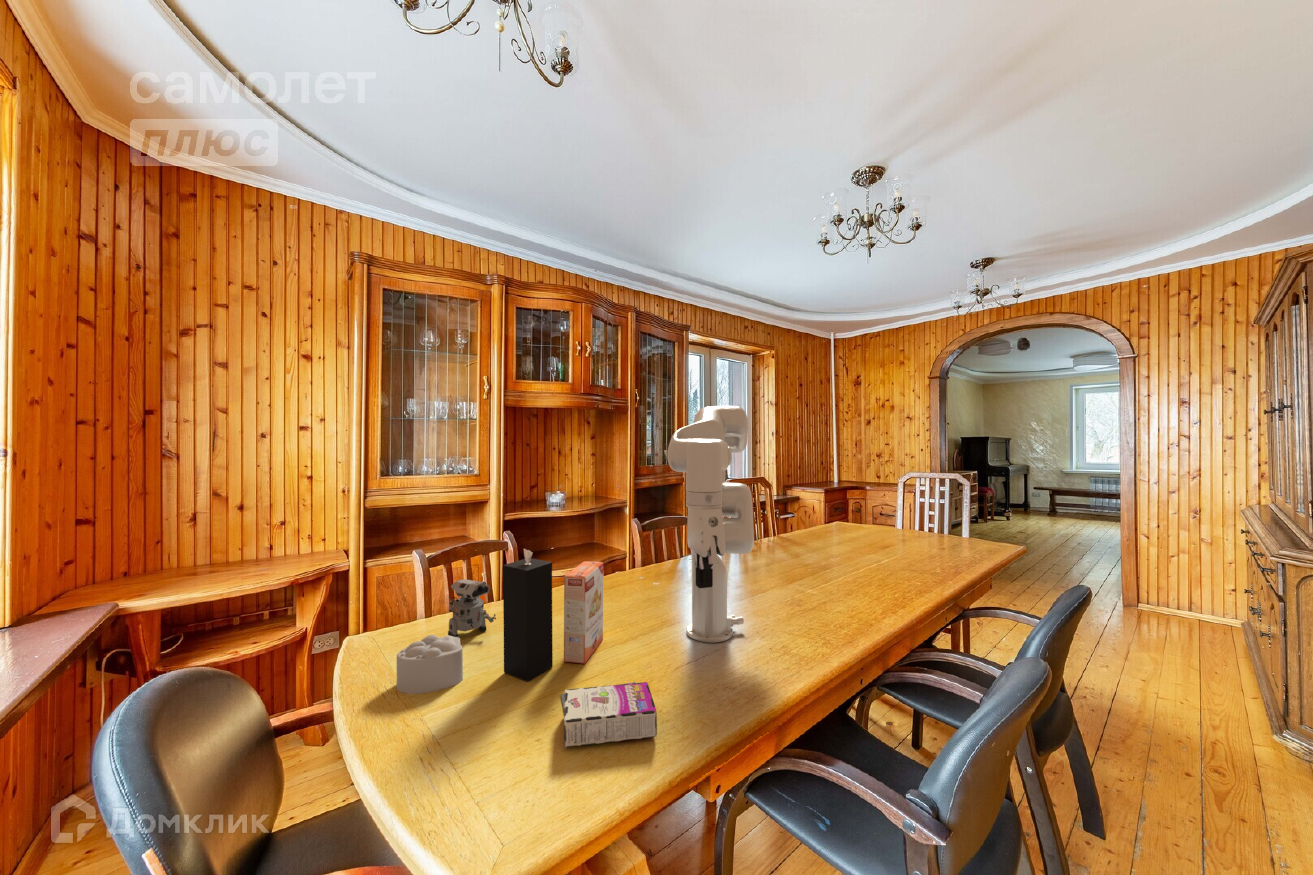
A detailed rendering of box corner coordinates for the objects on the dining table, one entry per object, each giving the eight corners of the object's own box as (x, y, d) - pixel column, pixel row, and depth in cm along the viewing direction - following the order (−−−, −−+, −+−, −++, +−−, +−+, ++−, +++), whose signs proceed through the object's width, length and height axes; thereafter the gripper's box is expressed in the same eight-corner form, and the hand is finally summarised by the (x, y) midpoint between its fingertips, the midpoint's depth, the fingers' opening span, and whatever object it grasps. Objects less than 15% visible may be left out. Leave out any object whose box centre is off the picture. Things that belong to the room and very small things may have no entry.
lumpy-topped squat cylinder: (464, 684, 105) (463, 644, 105) (396, 700, 99) (396, 658, 98) (459, 663, 114) (458, 627, 114) (396, 677, 108) (396, 639, 108)
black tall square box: (527, 682, 105) (526, 555, 105) (503, 673, 109) (502, 550, 109) (553, 667, 112) (552, 548, 111) (529, 659, 116) (528, 543, 116)
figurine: (462, 648, 122) (461, 589, 122) (445, 634, 130) (445, 579, 130) (496, 637, 128) (496, 581, 128) (478, 625, 137) (478, 572, 136)
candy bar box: (648, 706, 96) (564, 713, 93) (648, 680, 96) (564, 687, 93) (657, 739, 85) (562, 748, 82) (657, 711, 85) (563, 719, 82)
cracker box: (586, 665, 113) (586, 576, 113) (562, 662, 114) (562, 575, 114) (604, 639, 127) (604, 561, 126) (583, 637, 128) (582, 559, 128)
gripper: (736, 503, 94) (736, 596, 94) (706, 494, 109) (706, 575, 109) (701, 505, 92) (701, 600, 92) (675, 495, 106) (675, 578, 107)
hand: (704, 586), depth 101 cm, fingers closed
